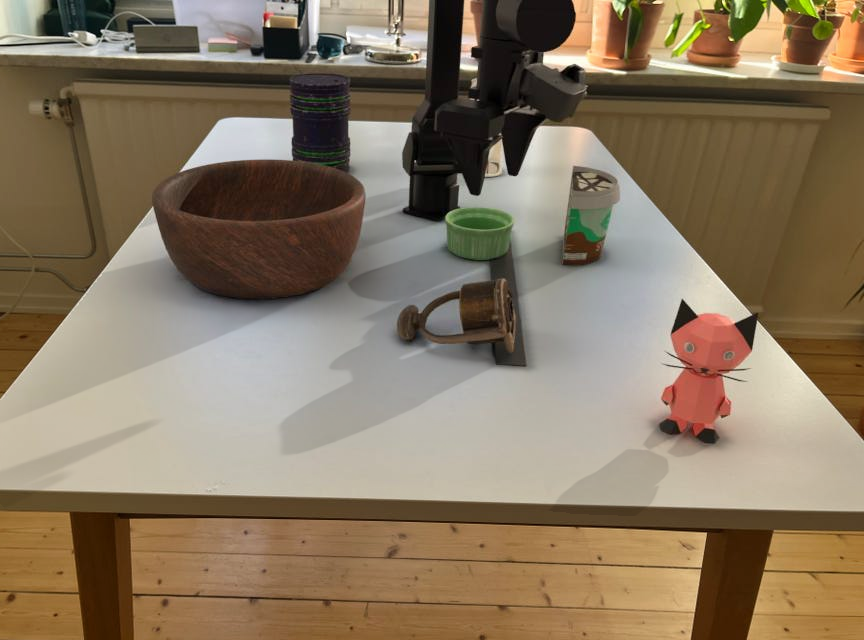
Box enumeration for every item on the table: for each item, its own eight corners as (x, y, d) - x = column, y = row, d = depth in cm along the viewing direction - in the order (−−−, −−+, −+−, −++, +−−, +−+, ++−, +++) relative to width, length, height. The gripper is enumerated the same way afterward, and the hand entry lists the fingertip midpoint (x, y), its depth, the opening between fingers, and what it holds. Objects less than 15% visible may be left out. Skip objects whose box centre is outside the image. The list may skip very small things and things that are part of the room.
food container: (611, 273, 102) (625, 196, 98) (562, 268, 103) (573, 192, 99) (608, 239, 113) (620, 168, 108) (563, 235, 114) (573, 164, 109)
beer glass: (511, 170, 141) (520, 80, 133) (493, 180, 136) (501, 87, 128) (475, 163, 144) (481, 75, 137) (456, 173, 139) (462, 81, 131)
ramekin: (446, 262, 105) (447, 229, 102) (441, 237, 112) (442, 206, 110) (516, 262, 105) (519, 230, 102) (506, 237, 112) (509, 206, 110)
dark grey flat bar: (526, 366, 82) (526, 365, 82) (496, 364, 82) (496, 363, 82) (509, 232, 115) (509, 231, 115) (487, 231, 115) (487, 230, 115)
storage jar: (281, 174, 136) (277, 81, 129) (308, 159, 144) (306, 71, 137) (335, 182, 133) (334, 87, 126) (360, 166, 141) (360, 76, 134)
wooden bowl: (184, 230, 112) (176, 156, 107) (365, 233, 113) (366, 159, 108) (138, 310, 91) (126, 221, 86) (363, 313, 91) (364, 226, 86)
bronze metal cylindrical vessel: (498, 329, 76) (543, 274, 82) (383, 286, 82) (433, 237, 88) (493, 384, 81) (536, 328, 87) (385, 340, 86) (432, 290, 93)
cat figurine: (643, 436, 71) (669, 313, 65) (654, 399, 77) (679, 281, 71) (729, 457, 69) (764, 331, 63) (734, 417, 74) (767, 297, 68)
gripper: (541, 56, 74) (523, 222, 81) (615, 35, 87) (593, 178, 95) (435, 44, 79) (428, 200, 86) (520, 25, 92) (507, 162, 100)
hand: (494, 185), depth 92 cm, fingers open, 9 cm apart
